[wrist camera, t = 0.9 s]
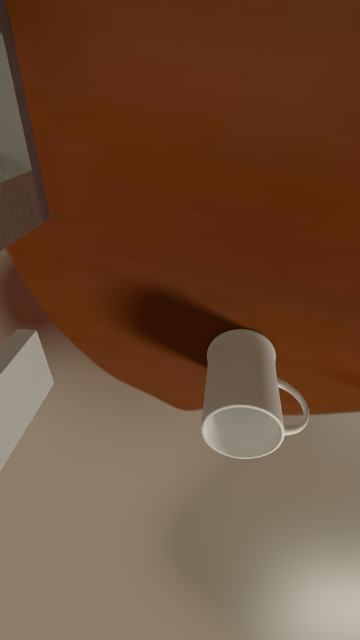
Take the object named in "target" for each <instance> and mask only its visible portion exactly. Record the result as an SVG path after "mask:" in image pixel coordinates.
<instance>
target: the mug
mask: <svg viewBox="0 0 360 640" xmlns="http://www.w3.org/2000/svg"><path fill="white" fill-rule="evenodd" d="M275 360H276V354H275V349H274V347H273V345H272V344H271V342H270V341H269V340H268V339H267V338H266V337H265V336H263V335H262V334H260V333H258V332H255V331H252V330H246V329H235V330H230V331H227V332H224V333H222V334H220V335H219V336H217V337H216V338H215V339H214V340H213V341H212V342H211V344H210V345H209V348H208V351H207V361H208V368H207V378H206V388H205V397H204V407H203V417H202V427H201V431H202V436H203V438H204V440H205V441H206V443H207V444H208V445H209V446H210V447H211V448H212V449H214V450H215V451H217V452H219V453H221V454H223V455H226V456H229V457H234V458H241V459H249V458H258V457H261V456H265V455H267V454H270V453H271V452H273V451H275V450H276V449H277V448H278V447H279V446H280V445H281V443H282V441H283V439H284V435H292V434H295V433H298V432H300V431H301V430H302V429H303V428H304V427H305V426H306V424H307V422H308V419H309V409H308V406H307V403H306V401H305V400H304V398H303V397H302V395H301V394H300V393H299V392H298V391H297V390H296V389H295V388H294V387H292V386H291V385H290V384H288V383H287V382H285V381H283V380H281V379H279V378H277V375H276V368H275ZM278 387H280V388H282V389H284V390H286V391H288V392H289V393H290V394H292V395H293V396H294V397H295V398H296V399H297V400H298V402H299V403H300V405H301V407H302V409H303V413H304V417H303V420H302V421H301V422H300V423H298V424H296V425H284V424H283V417H282V410H281V403H280V396H279V389H278Z"/></svg>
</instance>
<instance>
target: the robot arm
mask: <svg viewBox="0 0 360 640" xmlns="http://www.w3.org/2000/svg"><path fill="white" fill-rule="evenodd" d="M53 384H54V382H53V379H52V376H51V373H50V370H49V367H48V364H47V361H46V358H45V355H44V352H43V349H42V346H41V343H40V340H39V337H38V334H37V331H36V330H23V329H17V330H16V331H15V333H14V334H13V335H12V336H11V337H10V338H9V339H8V340H7V341H6V342H5V344H4V345H3V346H2V347H1V348H0V471H1V469H2V467H3V466H4V464H5V462H6V461H7V459H8V458H9V456H10V454H11V453H12V451H13V449H14V448H15V446H16V444H17V443H18V441H19V440H20V438H21V436H22V435H23V433H24V431H25V430H26V428H27V427H28V425H29V423H30V422H31V420H32V418H33V417H34V415H35V414H36V412H37V410H38V409H39V407H40V405H41V404H42V402H43V401H44V399H45V397H46V396H47V394H48V392H49V391H50V389H51V387H52V386H53Z"/></svg>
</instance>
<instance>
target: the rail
mask: <svg viewBox="0 0 360 640" xmlns="http://www.w3.org/2000/svg"><path fill="white" fill-rule="evenodd" d="M49 218H50V216H49V212H48V207H47V202H46V197H45V192H44V187H43V182H42V177H41V173H40V168H39V163H38V158H37V153H36V148H35V143H34V138H33V134H32V129H31V124H30V119H29V114H28V109H27V104H26V99H25V95H24V90H23V85H22V80H21V75H20V70H19V65H18V60H17V56H16V51H15V46H14V41H13V36H12V31H11V26H10V21H9V17H8V12H7V7H6V2H5V0H0V251H2V250H3V249H5V248H6V247H8V246H9V245H11V244H12V243H13V242H15V241H16V240H18V239H19V238H21V237H22V236H24V235H25V234H27V233H28V232H30V231H31V230H33V229H34V228H36V227H37V226H39V225H40V224H41V223H43V222H44V221H46V220H47V219H49Z"/></svg>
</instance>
